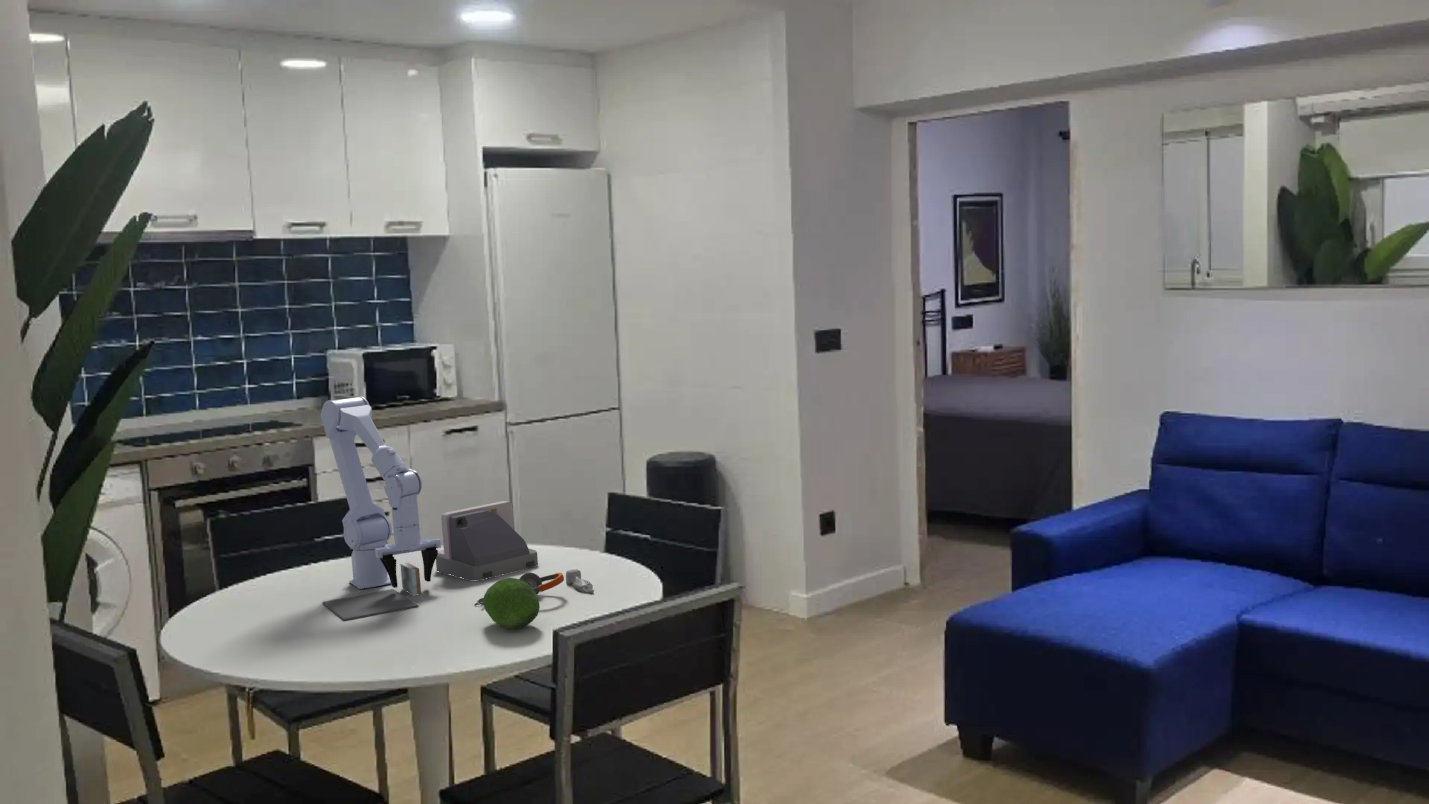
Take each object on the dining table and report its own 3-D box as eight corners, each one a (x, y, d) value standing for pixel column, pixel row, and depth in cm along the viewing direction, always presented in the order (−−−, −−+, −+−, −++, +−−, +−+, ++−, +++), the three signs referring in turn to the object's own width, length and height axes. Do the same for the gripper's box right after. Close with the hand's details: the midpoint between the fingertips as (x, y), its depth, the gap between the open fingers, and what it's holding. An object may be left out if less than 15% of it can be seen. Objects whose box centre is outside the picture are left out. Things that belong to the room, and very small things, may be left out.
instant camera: (509, 554, 315) (505, 496, 313) (546, 568, 298) (542, 507, 296) (430, 569, 303) (425, 509, 301) (464, 585, 286) (459, 521, 284)
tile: (402, 589, 284) (400, 563, 284) (410, 588, 285) (408, 562, 285) (413, 596, 278) (411, 570, 277) (421, 594, 279) (419, 568, 278)
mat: (322, 603, 275) (322, 601, 275) (393, 590, 283) (393, 588, 283) (344, 620, 260) (344, 619, 260) (418, 606, 268) (418, 604, 268)
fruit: (473, 623, 253) (469, 575, 252) (518, 613, 258) (514, 566, 257) (503, 639, 240) (499, 589, 239) (549, 628, 246) (546, 579, 245)
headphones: (490, 577, 280) (570, 557, 275) (496, 600, 280) (577, 580, 276) (460, 598, 264) (545, 577, 259) (467, 622, 264) (552, 601, 259)
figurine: (579, 583, 282) (579, 568, 282) (598, 599, 272) (599, 584, 271) (565, 585, 281) (565, 570, 280) (584, 601, 270) (584, 586, 270)
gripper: (379, 532, 273) (384, 592, 274) (443, 522, 280) (447, 581, 282) (370, 528, 279) (375, 586, 280) (433, 518, 286) (437, 575, 288)
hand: (411, 583), depth 281 cm, fingers open, 7 cm apart
